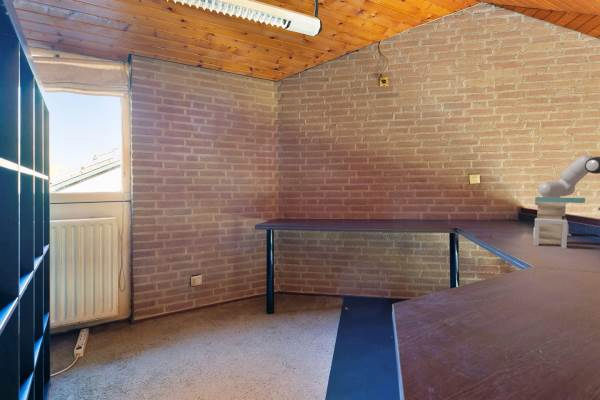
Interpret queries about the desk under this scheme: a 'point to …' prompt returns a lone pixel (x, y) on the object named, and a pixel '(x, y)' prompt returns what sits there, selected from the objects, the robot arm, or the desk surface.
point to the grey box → (551, 221)
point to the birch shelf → (550, 231)
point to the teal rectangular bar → (559, 199)
